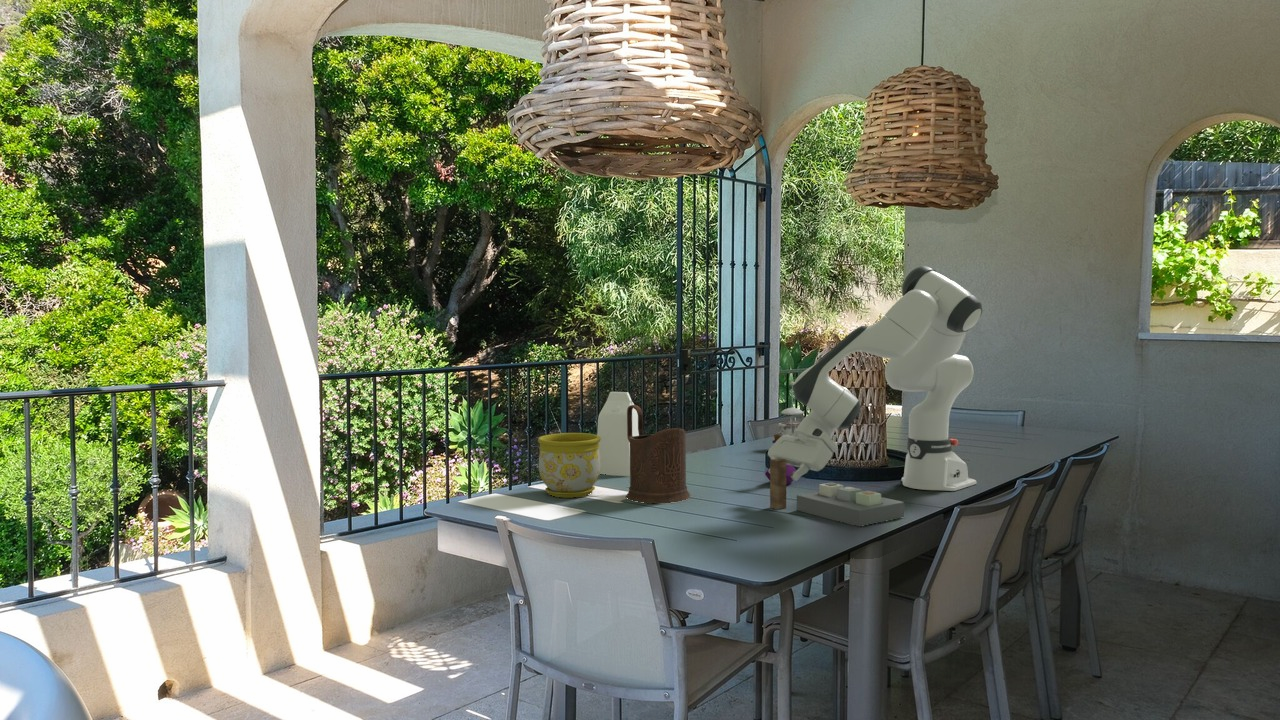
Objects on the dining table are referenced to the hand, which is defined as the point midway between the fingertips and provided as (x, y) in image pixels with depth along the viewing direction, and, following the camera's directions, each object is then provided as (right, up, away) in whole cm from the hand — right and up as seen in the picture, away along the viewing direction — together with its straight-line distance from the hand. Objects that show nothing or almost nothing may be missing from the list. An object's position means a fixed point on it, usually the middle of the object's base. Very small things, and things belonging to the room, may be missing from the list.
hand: (782, 476), depth 244 cm
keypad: (+16, -9, -7) cm, 20 cm away
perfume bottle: (+5, -7, +32) cm, 33 cm away
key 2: (+20, -6, -12) cm, 24 cm away
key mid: (+16, -6, -7) cm, 19 cm away
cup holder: (-34, -8, +19) cm, 40 cm away
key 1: (+13, -6, -2) cm, 14 cm away
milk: (-44, -6, +54) cm, 70 cm away
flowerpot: (-58, -8, +22) cm, 62 cm away
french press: (+18, -2, +94) cm, 95 cm away
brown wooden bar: (-1, -9, +1) cm, 9 cm away
